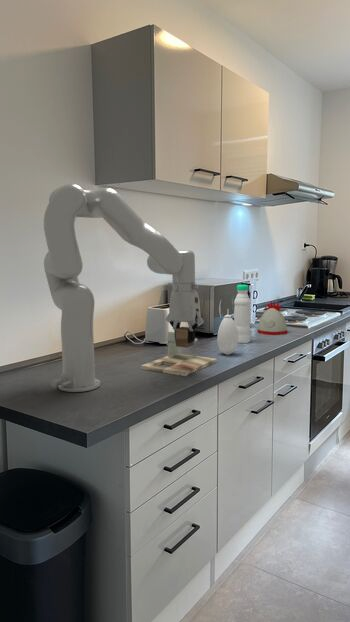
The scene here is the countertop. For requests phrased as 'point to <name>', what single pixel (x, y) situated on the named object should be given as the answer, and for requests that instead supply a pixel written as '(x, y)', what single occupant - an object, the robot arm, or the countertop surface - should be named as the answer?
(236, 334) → the sauce bottle
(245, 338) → the water bottle
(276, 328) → the kitchen timer
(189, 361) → the puzzle board
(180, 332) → the walnut block
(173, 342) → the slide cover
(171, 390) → the countertop surface
